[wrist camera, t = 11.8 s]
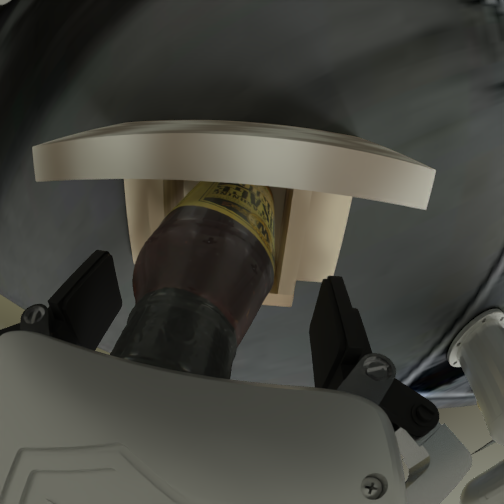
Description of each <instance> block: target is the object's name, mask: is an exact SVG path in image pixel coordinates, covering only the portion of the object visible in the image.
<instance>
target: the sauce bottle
mask: <svg viewBox="0 0 504 504" xmlns="http://www.w3.org/2000/svg"><path fill="white" fill-rule="evenodd" d="M274 226H275V221H274V198H273V194H272V191H271V189H270V187H269V186H262V185H251V184H239V183H225V182H210V181H200V182H199V183H198V184H197V185H196V186H195V187H194V188H193V189H192V190H191V191H190V192H189V193H188V194H187V195H186V196H185V197H184V198H183V199H182V200H181V201H180V202H179V203H178V204H177V205H176V206H175V207H174V208H173V209H172V210H171V211H170V212H169V213H168V214H167V215H166V217H165V218H164V219H163V220H162V222H161V223H160V225H159V227H158V228H157V229H156V230H155V231H154V232H153V234H152V235H151V236H150V237H149V238H148V240H147V241H146V242H145V243H144V245H143V247H142V248H141V250H140V252H139V255H138V257H137V260H136V262H135V267H134V273H133V291H134V297H135V299H136V304H135V307H134V308H133V309H132V311H131V313H130V314H129V317H128V321H127V325H126V327H125V328H124V330H123V331H122V334H121V336H120V337H119V339H118V341H117V342H116V344H115V347H114V349H113V350H112V352H111V353H110V355H111V356H115V357H119V358H122V359H126V360H130V361H134V362H138V363H142V364H147V365H151V366H155V367H160V368H165V369H170V370H175V371H180V372H185V373H191V374H197V375H203V376H209V377H216V378H223V379H230V376H231V367H232V363H233V360H234V358H235V355H236V350H237V347H238V345H239V344H240V342H241V341H242V339H243V337H244V336H245V334H246V332H247V330H248V329H249V327H250V325H251V323H252V321H253V320H254V318H255V316H256V314H257V312H258V311H259V309H260V307H261V305H262V303H263V302H264V300H265V298H266V297H267V295H268V293H269V292H270V290H271V289H272V286H273V283H274V270H275V264H274V263H275V232H274V231H275V229H274Z"/></svg>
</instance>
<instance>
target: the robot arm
mask: <svg viewBox="0 0 504 504" xmlns="http://www.w3.org/2000/svg"><path fill="white" fill-rule="evenodd" d="M48 303H49V307H48V309H47V307H46V306H45V305H43V304H35V305H32V306H30V307H28V308H27V309H26V310H25V311H24V312H23V314H22V316H21V323H18V324H16V325H13V326H10V327H7V328H4V329H2V330H0V504H440V503H441V502H442V501H443V500H444V499H445V498H446V497H447V496H448V494H449V493H450V492H451V491H452V490H453V489H454V488H455V487H456V485H457V484H458V483H459V482H460V481H461V479H462V478H463V477H464V476H465V475H466V473H467V472H468V471H469V469H470V467H471V465H472V457H471V454H470V452H469V451H468V450H467V449H466V447H465V446H464V445H463V444H462V443H461V442H460V441H459V439H458V438H457V437H456V436H455V435H454V433H453V432H452V431H451V430H450V429H449V428H448V427H447V426H446V425H445V423H444V424H443V425H441V424H440V423H439V412H438V409H437V408H436V406H435V405H434V404H433V403H432V402H431V401H429V400H428V399H426V398H425V397H423V396H421V395H420V394H418V393H417V392H415V391H414V390H412V389H411V388H409V387H408V386H406V385H405V384H403V383H401V382H400V381H398V380H397V379H395V375H396V368H395V366H394V364H393V362H392V361H391V360H390V359H389V358H387V357H386V356H384V355H381V354H377V353H372V351H371V348H370V344H369V341H368V338H367V335H366V332H365V329H364V326H363V323H362V320H361V317H360V314H359V311H358V309H356V308H352V305H351V302H350V299H349V296H348V293H347V290H346V287H345V284H344V281H343V279H342V277H339V276H328V277H327V279H323V280H322V284H321V288H320V292H319V295H318V299H317V303H316V306H315V310H314V313H313V317H312V320H311V324H310V329H309V334H310V343H311V352H312V362H313V372H314V382H315V387H304V386H290V385H277V384H266V383H257V382H247V381H238V380H230V379H223V378H216V377H209V376H203V375H197V374H191V373H185V372H180V371H175V370H170V369H165V368H160V367H155V366H151V365H147V364H142V363H138V362H134V361H130V360H126V359H122V358H119V357H115V356H111V355H107V354H104V353H101V352H97V351H95V350H96V348H97V346H98V345H99V343H100V341H101V340H102V338H103V336H104V335H105V333H106V331H107V330H108V328H109V326H110V325H111V323H112V322H113V320H114V318H115V317H116V315H117V314H118V312H119V311H120V309H121V307H122V299H121V295H120V291H119V286H118V282H117V277H116V272H115V267H114V262H113V258H112V255H110V254H109V252H108V251H102V250H96V251H95V252H94V253H93V254H92V255H91V256H90V257H89V258H88V259H87V260H86V261H85V262H84V263H83V264H82V265H81V266H80V267H79V268H78V269H77V270H76V271H75V272H74V273H73V274H72V275H71V276H70V277H69V278H68V279H67V280H66V282H65V283H64V284H63V285H62V286H61V287H60V288H59V289H58V290H57V291H56V292H55V294H54V295H53V296H52V297H51V298H50V299H49V300H48ZM447 358H448V361H449V363H450V365H451V366H454V367H462V369H463V371H464V373H465V375H466V378H467V380H468V382H469V384H470V386H471V388H472V391H473V393H474V395H475V397H476V400H477V402H478V405H479V407H480V409H481V412H482V414H483V417H484V420H485V422H486V425H487V428H488V430H489V433H490V435H491V437H492V439H493V440H494V441H495V442H497V443H499V444H501V445H504V313H503V312H502V311H501V310H500V309H490V310H487V311H485V312H483V313H482V314H480V315H478V316H477V317H476V318H474V319H473V320H472V321H471V322H469V323H468V324H467V325H466V326H465V327H464V328H463V329H462V330H461V331H460V333H459V334H458V335H457V336H456V337H455V339H454V340H453V342H452V344H451V345H450V347H449V350H448V354H447ZM400 453H401V454H400ZM401 455H402V456H403V457H404V459H402V460H403V461H404V463H405V464H406V465H407V467H408V469H409V476H408V479H407V481H406V482H405V478H404V472H403V466H402V460H401ZM460 504H504V459H503V460H502V461H500V462H499V463H497V464H496V465H494V466H493V467H491V468H490V469H488V470H486V471H485V472H483V473H481V474H480V475H478V476H477V477H475V478H473V479H472V480H471V481H469V482H468V483H467V484H466V486H465V487H464V489H463V490H462V493H461V496H460Z"/></svg>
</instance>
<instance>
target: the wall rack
mask: <svg viewBox="0 0 504 504" xmlns="http://www.w3.org/2000/svg"><path fill="white" fill-rule="evenodd" d="M32 150H33V161H34V170H35V178H36V182H42V181H58V180H82V179H124V187H125V199H126V209H127V219H128V227H129V235H130V242H131V249H132V256H133V262H134V264H135V262H136V260H137V257H138V255H139V252H140V250H141V248H142V247H143V245H144V243H145V242H146V241H147V240H148V238H149V237H150V236H151V235H152V234H153V232H154V231H155V230H156V229H157V228H158V227H159V225H160V223H161V222H162V220H163V219H164V218H165V217H166V215H167V214H168V213H169V212H170V211H171V210H172V209H173V208H174V207H175V206H176V205H177V204H178V203H179V202H180V201H181V200H182V199H183V198H184V197H185V196H186V195H187V194H188V193H189V192H190V191H191V190H192V189H193V188H194V187H195V186H196V185H197V184H198V183H199V182H200V181H210V182H225V183H239V184H251V185H262V186H269V187H270V189H271V191H272V194H273V198H274V221H275V226H274V229H275V231H274V232H275V263H274V264H275V270H274V283H273V286H272V289H271V290H270V292H269V293H268V295H267V297H266V298H265V300H264V302H263V303H262V305H271V306H284V307H291V306H292V301H293V296H294V294H293V293H294V288H295V283H296V280H299V281H311V282H322V280H323V279H327V277H328V276H333V275H334V271H335V268H336V264H337V260H338V256H339V252H340V248H341V244H342V240H343V236H344V232H345V228H346V224H347V219H348V215H349V210H350V205H351V201H352V197H358V198H364V199H370V200H376V201H382V202H387V203H393V204H398V205H403V206H408V207H413V208H418V209H423V210H426V208H427V205H428V201H429V197H430V194H431V190H432V186H433V182H434V177H435V173H436V170H435V169H433V168H431V167H429V166H427V165H425V164H422V163H420V162H418V161H416V160H414V159H412V158H409V157H407V156H405V155H402V154H400V153H398V152H395V151H393V150H391V149H388V148H386V147H383V146H381V145H378V144H375V143H373V142H370V141H368V140H365V139H362V138H359V137H355V136H350V135H345V134H339V133H334V132H328V131H322V130H316V129H309V128H302V127H294V126H286V125H277V124H267V123H256V122H242V121H223V120H158V121H139V122H127V123H121V124H116V125H111V126H106V127H102V128H97V129H93V130H89V131H84V132H81V133H77V134H73V135H69V136H66V137H62V138H59V139H55V140H52V141H49V142H45V143H42V144H39V145H36V146H33V147H32Z"/></svg>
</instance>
